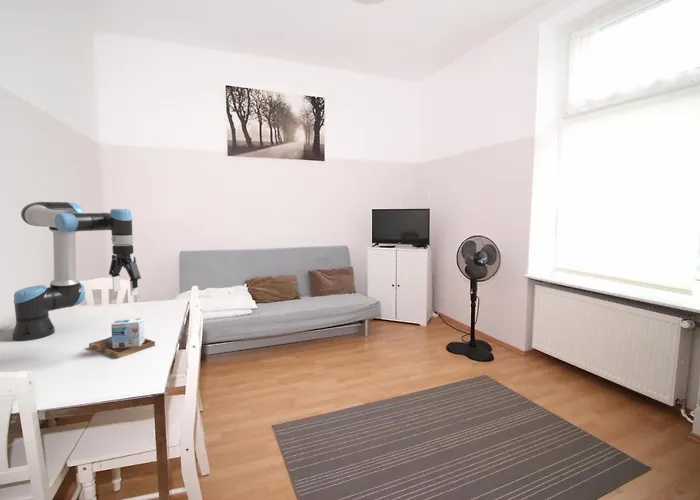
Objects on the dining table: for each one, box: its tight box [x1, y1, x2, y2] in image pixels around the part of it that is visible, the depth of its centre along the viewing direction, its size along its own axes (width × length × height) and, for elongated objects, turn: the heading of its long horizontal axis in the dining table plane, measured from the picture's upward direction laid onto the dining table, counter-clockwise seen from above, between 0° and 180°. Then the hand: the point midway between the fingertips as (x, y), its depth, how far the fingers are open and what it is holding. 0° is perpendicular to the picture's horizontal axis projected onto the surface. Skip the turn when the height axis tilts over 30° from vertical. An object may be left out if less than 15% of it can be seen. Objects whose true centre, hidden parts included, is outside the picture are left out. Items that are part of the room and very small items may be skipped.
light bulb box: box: [110, 317, 146, 348], centre depth 150 cm, size 11×7×11 cm, turn 106°
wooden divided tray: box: [88, 338, 156, 359], centre depth 153 cm, size 22×16×2 cm
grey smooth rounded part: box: [105, 336, 112, 347], centre depth 156 cm, size 7×7×3 cm
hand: (125, 293), depth 152 cm, fingers open, 13 cm apart
